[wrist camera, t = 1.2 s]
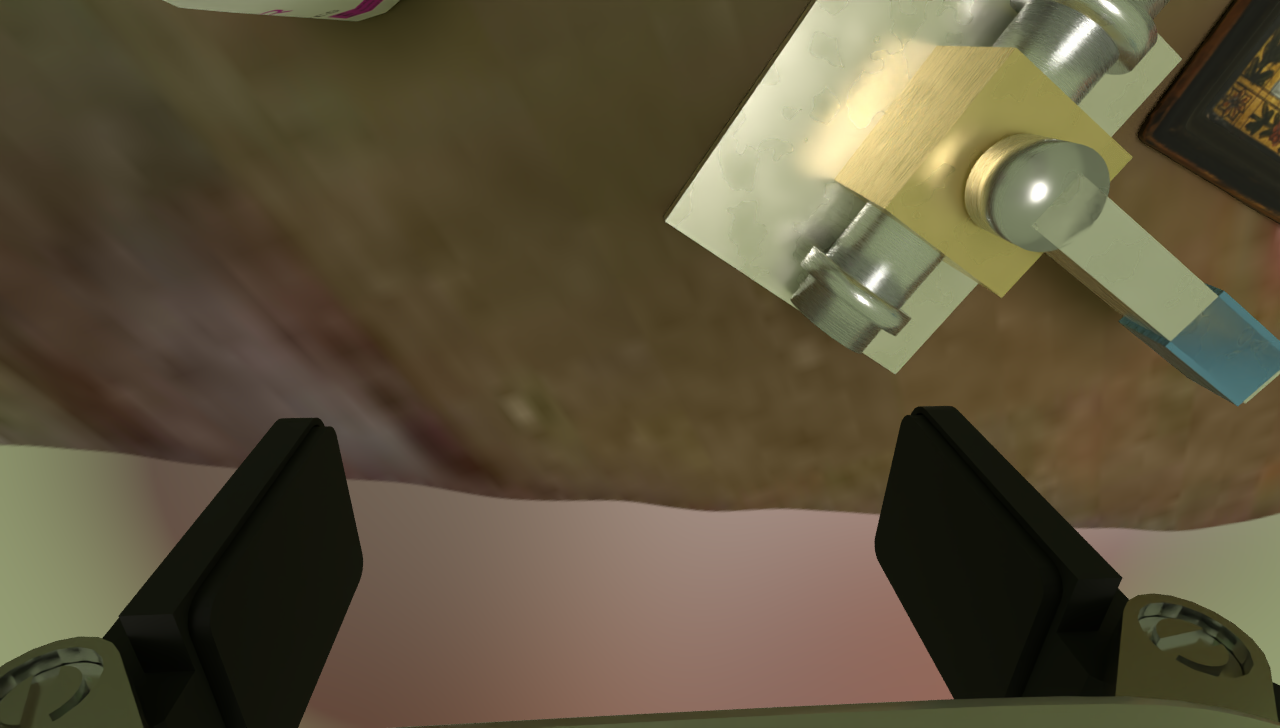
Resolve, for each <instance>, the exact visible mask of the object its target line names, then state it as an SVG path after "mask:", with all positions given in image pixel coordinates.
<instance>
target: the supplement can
mask: <svg viewBox="0 0 1280 728" xmlns="http://www.w3.org/2000/svg"><path fill="white" fill-rule="evenodd" d="M164 1H166V2H168V3H170V4H172V5H175V6H177V7H179V8H189V9H200V10H211V11H222V12H234V13H248V14H262V15H276V16H290V17H304V18H318V19H332V20H346V21H361V20H364V19H367V18H370V17H373V16H377V15H380V14H383V13H386V12H387V11H388V10H389V9H391V8H392V7H393V6H394V5H395V4H396V3H397V2H399V1H400V0H164Z"/></svg>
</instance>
